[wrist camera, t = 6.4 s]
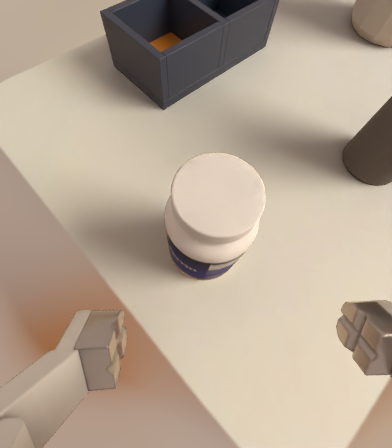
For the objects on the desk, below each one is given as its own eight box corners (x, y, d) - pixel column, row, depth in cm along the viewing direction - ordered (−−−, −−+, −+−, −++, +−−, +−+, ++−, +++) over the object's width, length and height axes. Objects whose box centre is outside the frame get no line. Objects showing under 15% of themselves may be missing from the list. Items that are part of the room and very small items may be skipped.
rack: (163, 110, 27) (159, 59, 22) (114, 66, 29) (99, 10, 24) (265, 46, 32) (281, -7, 27) (216, 13, 34) (222, -42, 29)
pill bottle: (158, 235, 21) (139, 168, 12) (213, 207, 22) (235, 127, 13) (190, 295, 19) (197, 270, 10) (248, 260, 21) (302, 211, 11)
